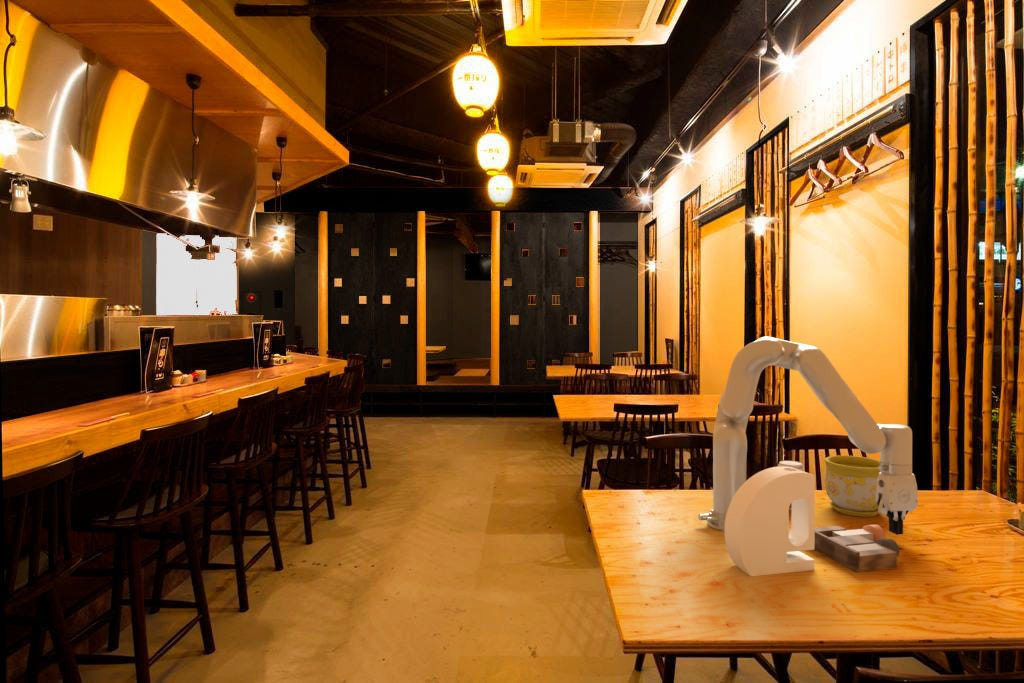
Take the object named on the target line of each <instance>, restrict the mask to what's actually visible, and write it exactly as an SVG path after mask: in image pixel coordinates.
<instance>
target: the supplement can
mask: <svg viewBox="0 0 1024 683" xmlns="http://www.w3.org/2000/svg"><path fill="white" fill-rule="evenodd" d="M781 466H784V467H792V468H796V469H799V470H802V471H804V472H805V467H804V464H803V463H802V462H800V461H796V460H780V461H779V463H778V464H777V466H776V467H781ZM791 505H792V503H791V504H790V506H789V511H791Z"/></svg>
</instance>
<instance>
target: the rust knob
mask: <svg viewBox="0 0 1024 683" xmlns="http://www.w3.org/2000/svg"><path fill="white" fill-rule="evenodd" d="M848 535H860V536H862V537H864V538H867V539H869V540H871V541H873V542H874V543H875V542H876V541H877V540H880V539H886V538H885V537H886V536H885V532H884V529H883V528H882V527H881V525H879V524H866V525H863V526H862V528H857V529H848V530H847V529H846V530H845V531H833V532H832V537H837V536H848Z"/></svg>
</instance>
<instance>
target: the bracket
mask: <svg viewBox="0 0 1024 683" xmlns="http://www.w3.org/2000/svg"><path fill="white" fill-rule="evenodd" d="M815 477H816V476H815V474H814V473H813V474H812V473H809V472H806V471H805V470H804V471H802V470H799V469H796V468H792V467H784V466H781V467H777V466H773V467H772V466H771V467H768V468H765V469H763V470H762V469H761V470H760V471H758V472H756V473H755V474H753V475H752V476H750V477H749V478H748V479H746V481H745V482H744V484H743V485H742V486H741V487H740V488H739V489H738V491H737V492H736V493H735V495H734V497H733V498H732V500H731V502H730V505H729V507H728V510H727V514H726V518H725V528H724V531H723V533H724V541H725V546H726V550H727V551H728V554H729V557H730V559H731V560H732V563H733V564H734V565H735V566H736V567H737V568H739V570H741V571H743V572H744V573H746V574H747V575H749V576H750V577H758V576H766V575H767V576H768V575H777V574H785V573H786V574H788V573H796V572H806V571H807V572H809V571H815V559H814V558H812V557H810V556H809V555H807V554H806V553H804V552H802V551H813V550H814V543H815V528H816V527H815V516H816V515H815V514H816V513H815V512H816V510H815V509H816V508H815V502H816V501H815V500H816V498H815V496H816V495H815V493H816V492H815V490H816V489H815V488H816V486H815V484H816V483H815V482H816V481H815V480H816V478H815ZM791 503H792V505H791V510H789V506H790V504H791ZM790 511H791V514H789V512H790ZM790 515H791V526H790V522H789V520H790V518H789V516H790ZM789 526H790V527H789ZM789 528H790V530H789ZM814 551H815V550H814Z"/></svg>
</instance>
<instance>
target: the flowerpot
mask: <svg viewBox="0 0 1024 683" xmlns="http://www.w3.org/2000/svg"><path fill="white" fill-rule="evenodd" d="M824 463H825V464H826V466H825V475H824V488H825V492H826V495H827V496H828V498H829V500H830V501H831V502H830V506H831V507H832V508H833V509H834V510H835V511H836V512H839V513H840V514H844V515H847V516H853V517H859V518H860V517H861V518H862V517H863V518H864V517H865V518H867V517H869V518H870V517H875V516H877V515H878V514H879V512H878V508H879V507H878V506H877V504H876V487H877V480H878V475H879V473H880V470H879V468H878V467H879V466H880V460H879V459H876V458H870V457H864V456H859V455H858V456H857V455H840V454H839V455H830V456H827V457H825V458H824Z"/></svg>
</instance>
